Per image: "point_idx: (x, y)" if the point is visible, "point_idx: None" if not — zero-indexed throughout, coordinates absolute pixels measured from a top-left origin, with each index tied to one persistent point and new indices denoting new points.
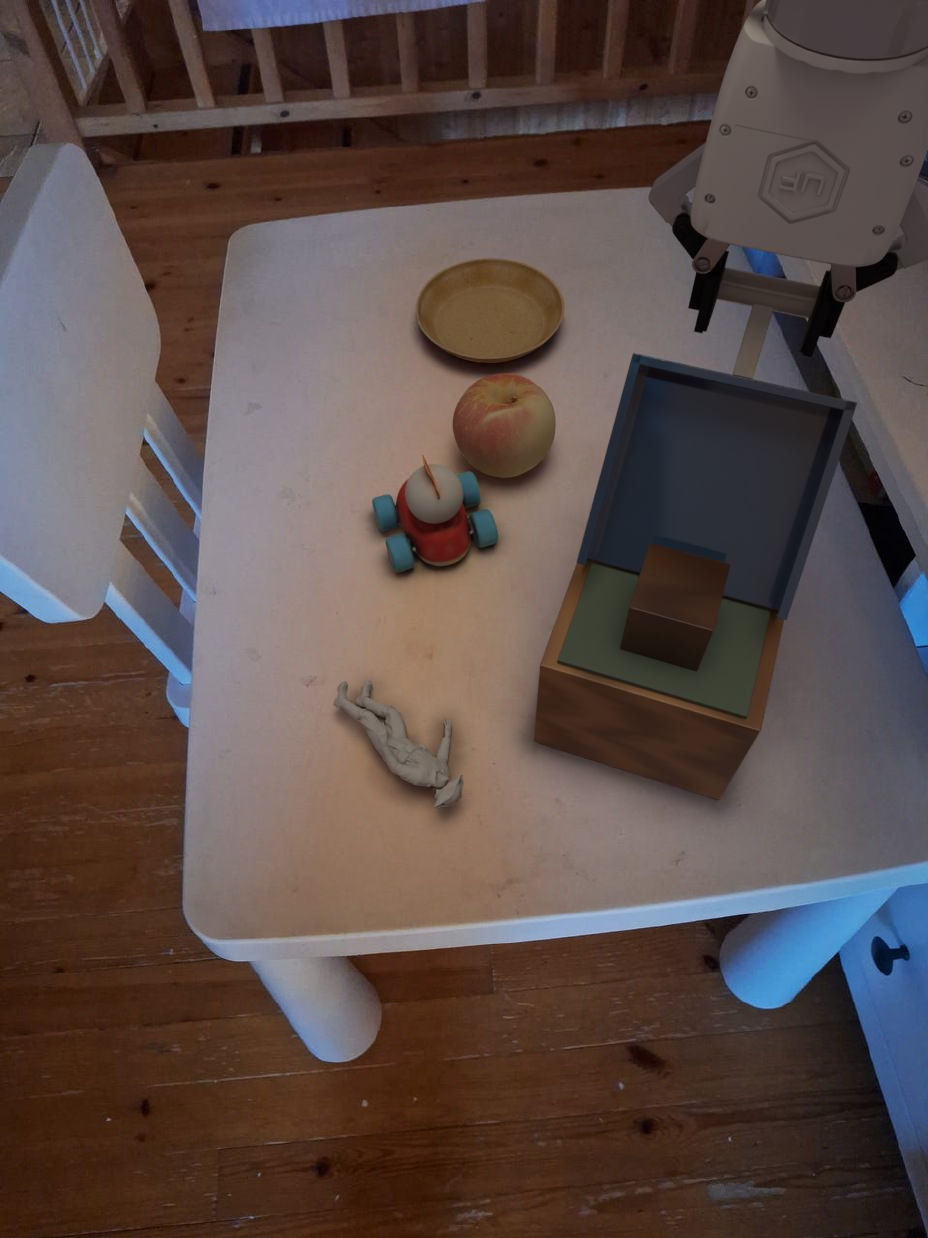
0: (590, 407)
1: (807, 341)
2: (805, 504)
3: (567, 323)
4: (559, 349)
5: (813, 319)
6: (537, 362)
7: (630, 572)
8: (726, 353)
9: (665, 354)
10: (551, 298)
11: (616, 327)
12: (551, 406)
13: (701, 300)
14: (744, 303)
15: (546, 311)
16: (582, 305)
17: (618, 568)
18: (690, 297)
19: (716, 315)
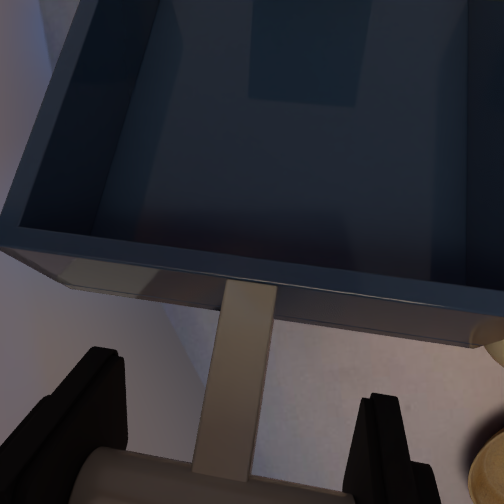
0: (421, 367)
1: (96, 378)
2: (125, 120)
3: (455, 467)
4: (462, 435)
5: (61, 433)
6: (487, 418)
7: None
8: (285, 441)
9: (346, 437)
10: (481, 495)
11: None
12: (494, 345)
13: (415, 485)
14: (272, 482)
15: (483, 480)
16: (440, 488)
17: None
18: (438, 496)
19: (300, 482)
